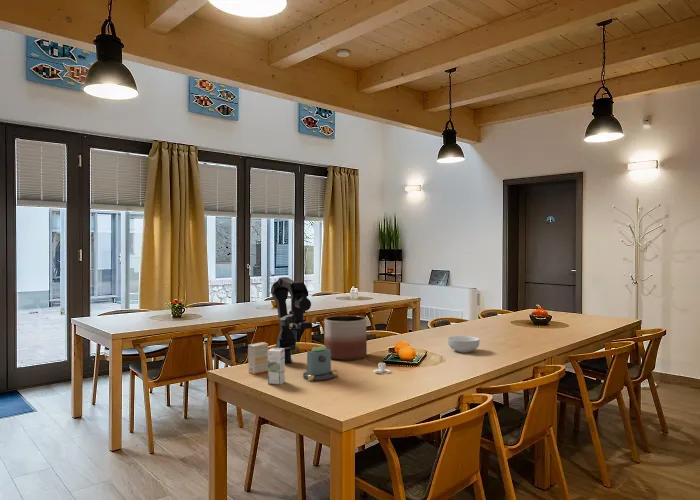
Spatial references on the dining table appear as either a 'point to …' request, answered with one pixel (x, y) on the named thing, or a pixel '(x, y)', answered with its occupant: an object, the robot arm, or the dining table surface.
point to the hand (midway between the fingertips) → (297, 342)
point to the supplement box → (258, 357)
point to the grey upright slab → (319, 361)
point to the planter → (346, 337)
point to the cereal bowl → (463, 343)
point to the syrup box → (276, 366)
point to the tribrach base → (320, 376)
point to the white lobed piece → (381, 369)
